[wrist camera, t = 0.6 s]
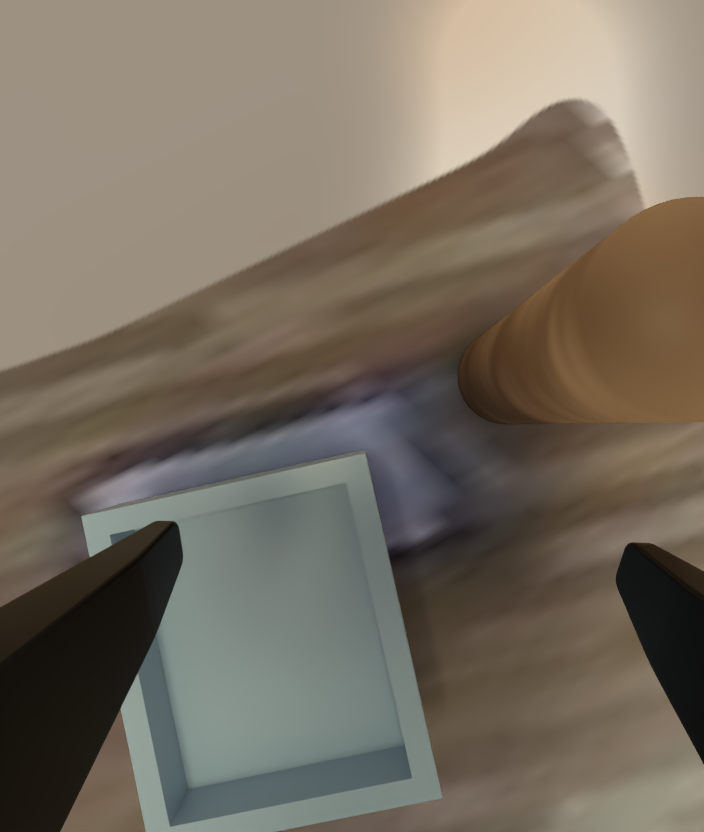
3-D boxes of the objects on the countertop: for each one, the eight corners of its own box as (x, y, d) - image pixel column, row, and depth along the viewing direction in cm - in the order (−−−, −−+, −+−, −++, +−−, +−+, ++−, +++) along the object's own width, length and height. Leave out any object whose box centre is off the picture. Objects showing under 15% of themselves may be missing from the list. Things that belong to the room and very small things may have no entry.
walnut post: (564, 412, 22) (840, 393, 9) (469, 433, 22) (613, 444, 9) (542, 319, 22) (784, 173, 9) (448, 340, 23) (560, 226, 10)
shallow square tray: (424, 711, 22) (442, 798, 17) (200, 756, 23) (150, 856, 17) (365, 446, 23) (365, 453, 17) (145, 495, 23) (81, 516, 18)
